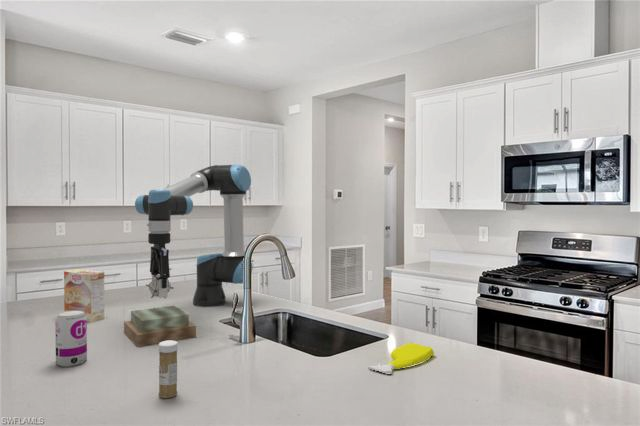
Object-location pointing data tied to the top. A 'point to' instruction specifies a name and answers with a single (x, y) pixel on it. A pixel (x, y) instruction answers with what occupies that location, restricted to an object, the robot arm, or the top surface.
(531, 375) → the top surface
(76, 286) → the coffeecake box
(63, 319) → the supplement can
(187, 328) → the tower base
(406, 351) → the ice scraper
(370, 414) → the top surface
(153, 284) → the game die
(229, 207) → the robot arm
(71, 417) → the top surface
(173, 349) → the sprinkles bottle
